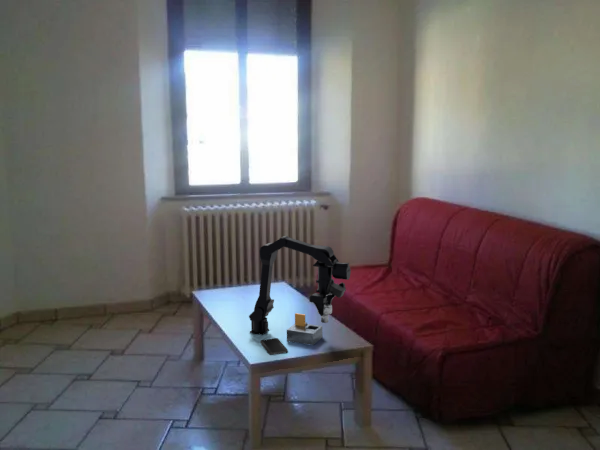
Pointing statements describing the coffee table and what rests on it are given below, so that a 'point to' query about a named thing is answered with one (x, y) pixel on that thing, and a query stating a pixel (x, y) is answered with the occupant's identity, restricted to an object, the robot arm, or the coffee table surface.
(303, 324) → the grey orange block
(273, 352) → the phone
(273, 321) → the coffee table surface
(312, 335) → the hitch block
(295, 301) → the coffee table surface
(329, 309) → the grey rounded piece
